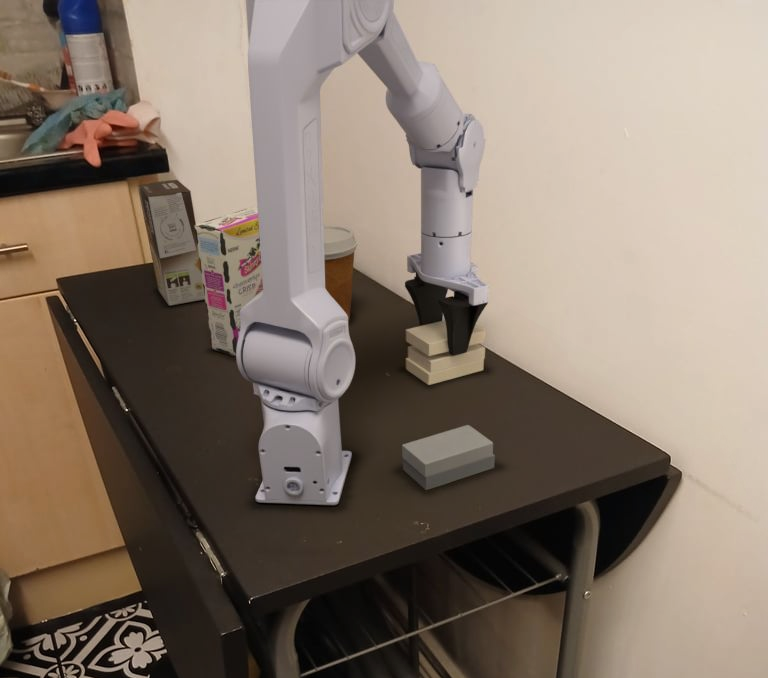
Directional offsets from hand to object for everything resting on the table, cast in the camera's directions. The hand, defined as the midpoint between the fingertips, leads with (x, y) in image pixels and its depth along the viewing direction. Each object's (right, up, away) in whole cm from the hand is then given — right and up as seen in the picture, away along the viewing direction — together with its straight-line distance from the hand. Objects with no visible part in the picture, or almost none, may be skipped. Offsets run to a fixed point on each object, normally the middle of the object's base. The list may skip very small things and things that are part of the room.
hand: (444, 344), depth 97 cm
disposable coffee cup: (-15, +7, +17) cm, 24 cm away
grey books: (-1, -16, -17) cm, 24 cm away
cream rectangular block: (0, 0, 0) cm, 0 cm away
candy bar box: (-25, +3, +12) cm, 28 cm away
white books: (0, -3, +2) cm, 3 cm away
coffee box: (-39, +14, +28) cm, 50 cm away
